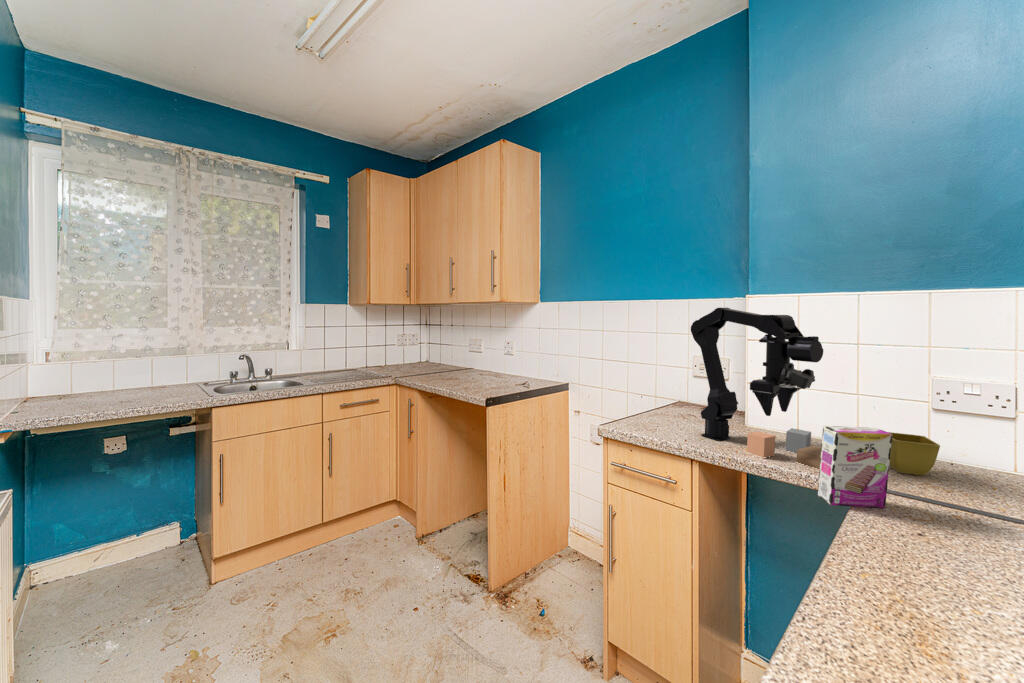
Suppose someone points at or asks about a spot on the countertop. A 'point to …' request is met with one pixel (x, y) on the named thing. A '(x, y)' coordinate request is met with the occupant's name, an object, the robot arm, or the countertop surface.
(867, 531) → the countertop surface
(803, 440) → the grey block
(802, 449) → the base block
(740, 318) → the robot arm
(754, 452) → the terracotta block
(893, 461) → the flower pot
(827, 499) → the candy bar box
